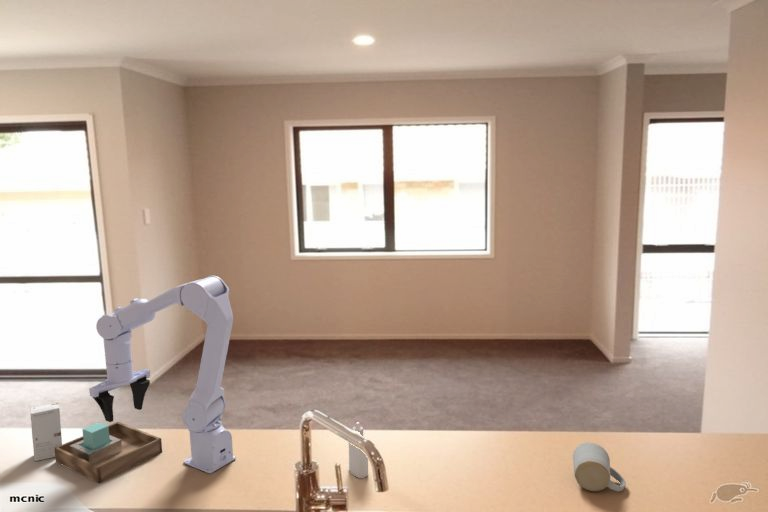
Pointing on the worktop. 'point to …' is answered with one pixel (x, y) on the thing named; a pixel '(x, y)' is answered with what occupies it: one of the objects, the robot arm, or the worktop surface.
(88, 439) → the teal plug
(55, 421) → the skincare box
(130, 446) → the walnut tray
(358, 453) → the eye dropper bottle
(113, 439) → the metal socket
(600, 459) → the ceramic mug
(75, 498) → the worktop surface
